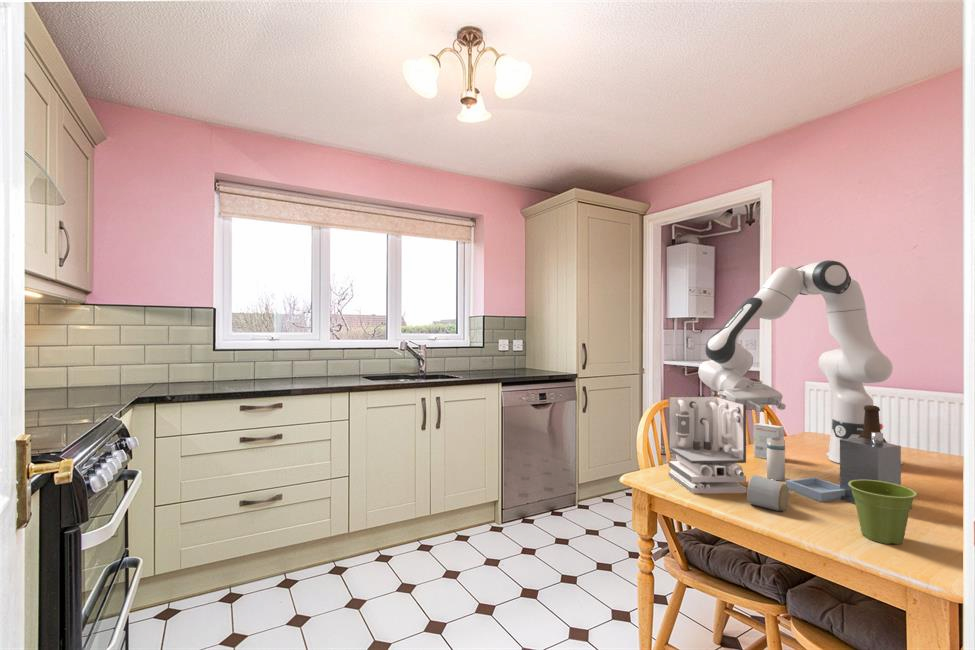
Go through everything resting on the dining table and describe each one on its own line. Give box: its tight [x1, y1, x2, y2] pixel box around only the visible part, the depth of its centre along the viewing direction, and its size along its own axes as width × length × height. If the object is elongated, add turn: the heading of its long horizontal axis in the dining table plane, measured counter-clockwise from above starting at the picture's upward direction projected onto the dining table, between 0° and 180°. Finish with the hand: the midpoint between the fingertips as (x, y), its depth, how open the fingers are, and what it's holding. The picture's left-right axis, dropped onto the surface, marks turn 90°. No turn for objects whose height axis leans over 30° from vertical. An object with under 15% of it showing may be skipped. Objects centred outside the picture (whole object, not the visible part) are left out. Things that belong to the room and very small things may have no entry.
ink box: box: [753, 422, 785, 460], centre depth 172 cm, size 9×5×12 cm, turn 42°
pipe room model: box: [668, 396, 747, 494], centre depth 142 cm, size 16×19×25 cm
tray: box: [785, 476, 845, 503], centre depth 136 cm, size 11×11×2 cm
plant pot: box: [848, 480, 918, 545], centre depth 107 cm, size 12×12×11 cm
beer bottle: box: [858, 404, 888, 443], centre depth 140 cm, size 8×8×24 cm
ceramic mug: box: [746, 474, 790, 512], centre depth 127 cm, size 11×8×8 cm
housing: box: [839, 432, 912, 510], centre depth 129 cm, size 11×13×19 cm
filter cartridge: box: [766, 436, 786, 481], centre depth 149 cm, size 5×5×13 cm
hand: (772, 408), depth 151 cm, fingers open, 8 cm apart
